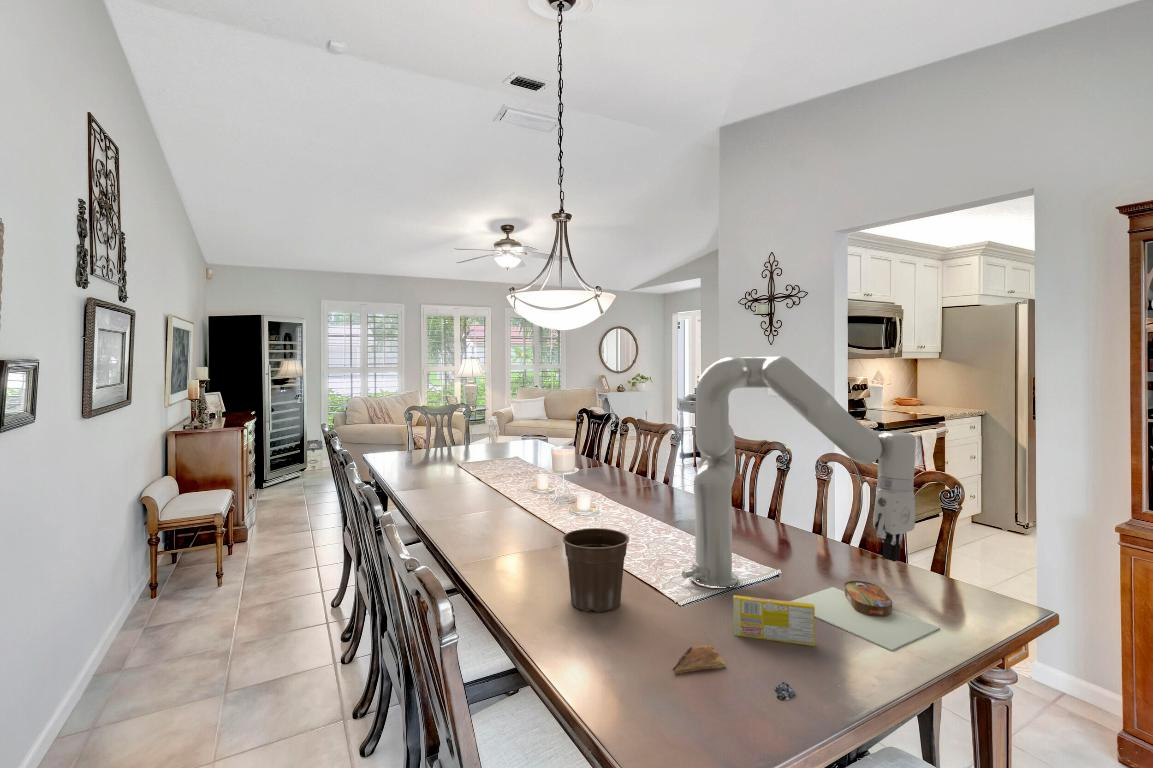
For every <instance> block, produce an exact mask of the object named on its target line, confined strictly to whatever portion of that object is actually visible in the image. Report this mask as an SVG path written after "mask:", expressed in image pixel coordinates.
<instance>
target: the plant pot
mask: <svg viewBox="0 0 1153 768" xmlns="http://www.w3.org/2000/svg"><path fill="white" fill-rule="evenodd" d="M562 542H563V543H564V551H565V556H566V558H567V569H568V570H567V571H568V581H569V591H570V602H571V604H572V605H573V606H574V607H575V608H576V609H579V610H580V611H581V610H582V611H585V612H589V611H594V612H596V613H603V612H609V611H612V610H614V609H616V608H619V606H620V605H621V600H622V588H623V577H624V564H625V557H626V556H627V546H628V543H629V542H630V537H629V535H627V534H626V533H625V532H622V531H619V530H616V529H611V528H610V529H609V528H599V527H596V528H594V527H593V528H591V527H590V528H580V529H574V530H571V531H569V532H567V533H565V534H564V535H563V536H562ZM608 610H609V611H608Z"/></svg>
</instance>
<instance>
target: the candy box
mask: <svg viewBox="0 0 1153 768" xmlns="http://www.w3.org/2000/svg"><path fill="white" fill-rule="evenodd" d="M732 600H733V603H732V604H733V605H732V608H733V611H732V613H733V615H732V616H733V620H732V621H733V623H732V625H733V626H732V628H733V629H732V632H733V633H732V634H733V636H735V637H736V636H738V637H744V638H752V639H758V640H765V641H773V642H781V643H786V644H787V643H788V644H794V645H801V646H809V647H815V646H816V635H815V633H816V630H815V620H816V619H815V618H816V617H815V606H814V604H808V603H799V602H790V601H791V600H790V601H789V600H788V601H787V600H779V599H770V598H761V597H752V596H745V595H744V596H743V595H738V594H737V595H735V594H734V595H733V598H732Z"/></svg>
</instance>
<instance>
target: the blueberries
mask: <svg viewBox="0 0 1153 768" xmlns="http://www.w3.org/2000/svg"><path fill="white" fill-rule="evenodd" d="M764 689H766V686H764ZM774 692H775V693H776V694H777V695H776V698H777V700H779V701H786V700H789V699H792V698H795V696H796V693H795V690H794V689H793V688H792V687H791V686H790V685H789V683H787V682H786V681H784V682H783V681H782V682H781V683H779V684H778V686H775V687H774Z"/></svg>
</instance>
